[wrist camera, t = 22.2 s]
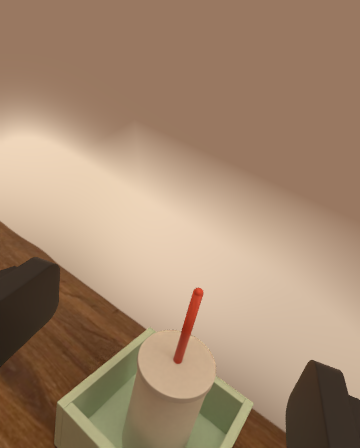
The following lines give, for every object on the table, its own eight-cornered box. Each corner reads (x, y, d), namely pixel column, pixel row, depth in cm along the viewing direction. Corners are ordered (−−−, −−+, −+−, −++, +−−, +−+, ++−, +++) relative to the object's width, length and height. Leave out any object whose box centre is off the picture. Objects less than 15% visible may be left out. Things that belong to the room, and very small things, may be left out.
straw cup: (193, 421, 30) (247, 280, 22) (174, 493, 24) (238, 337, 17) (136, 395, 31) (171, 253, 24) (106, 459, 25) (139, 298, 18)
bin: (235, 440, 30) (254, 403, 27) (167, 578, 20) (186, 540, 18) (141, 363, 35) (149, 326, 33) (53, 444, 26) (56, 402, 24)
